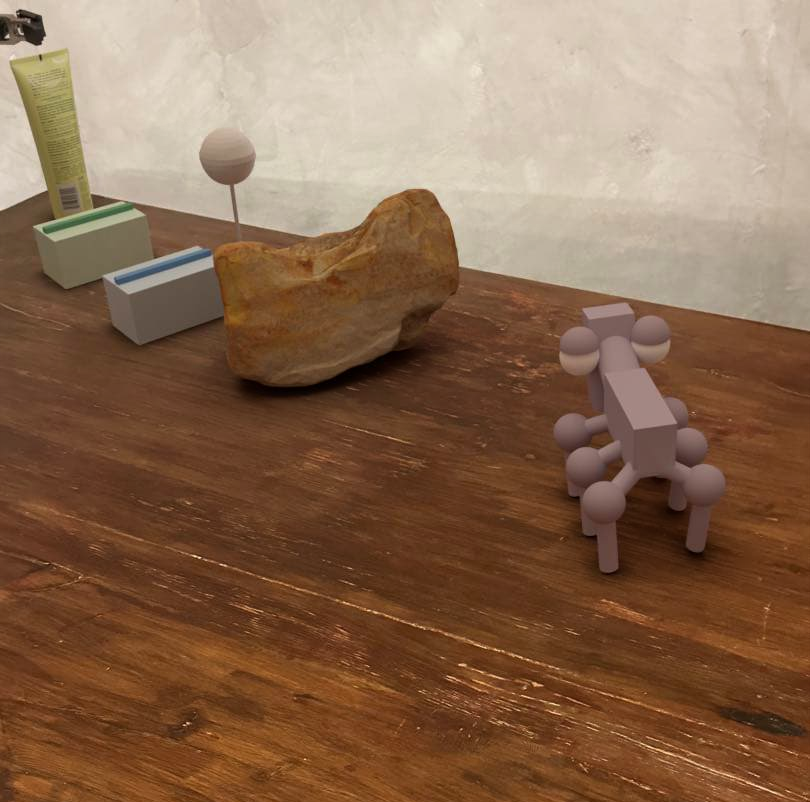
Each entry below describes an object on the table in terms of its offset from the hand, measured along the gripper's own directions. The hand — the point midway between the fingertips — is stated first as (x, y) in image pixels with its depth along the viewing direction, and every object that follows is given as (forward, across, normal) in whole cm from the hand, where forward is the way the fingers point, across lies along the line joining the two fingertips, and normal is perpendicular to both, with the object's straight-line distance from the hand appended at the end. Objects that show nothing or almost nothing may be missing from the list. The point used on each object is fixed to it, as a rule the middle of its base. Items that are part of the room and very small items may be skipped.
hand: (5, 43), depth 138 cm
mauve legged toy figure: (+98, +7, +18) cm, 100 cm away
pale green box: (+28, -5, +19) cm, 34 cm away
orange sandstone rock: (+62, +4, +19) cm, 65 cm away
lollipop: (+38, +8, +19) cm, 44 cm away
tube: (+11, 0, +19) cm, 22 cm away
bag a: (+46, -5, +18) cm, 50 cm away
